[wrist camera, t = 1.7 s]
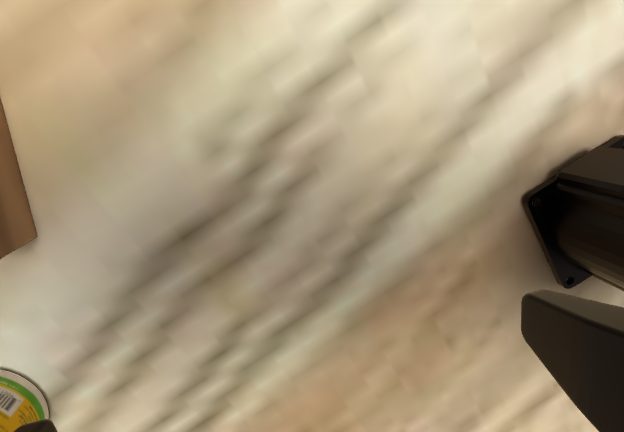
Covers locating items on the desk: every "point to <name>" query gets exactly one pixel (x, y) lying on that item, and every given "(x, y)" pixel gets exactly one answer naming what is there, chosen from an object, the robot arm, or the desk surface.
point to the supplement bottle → (19, 402)
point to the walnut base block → (12, 197)
